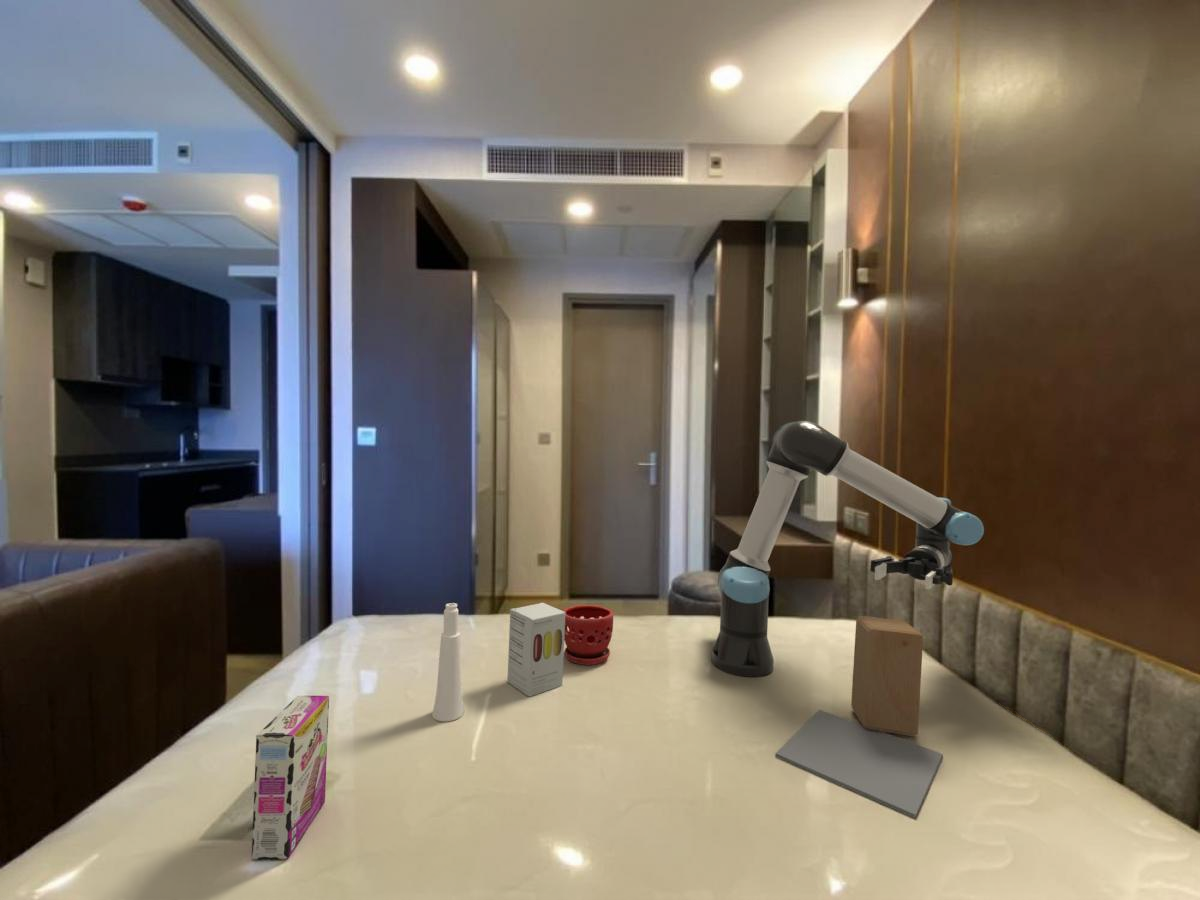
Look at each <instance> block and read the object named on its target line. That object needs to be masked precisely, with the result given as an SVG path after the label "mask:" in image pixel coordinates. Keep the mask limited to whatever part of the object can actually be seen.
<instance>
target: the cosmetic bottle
mask: <svg viewBox="0 0 1200 900" xmlns="http://www.w3.org/2000/svg"><path fill="white" fill-rule="evenodd" d="M457 607H458V603H455V602H451V603H446V604H445V609H444V610H443V632H442V633H441V635H440V643H439V645H440V646H439V657H438V669H437V683H436V692H435V693H436V694H435V699H434V705H433V710H432V717H433V719H434V720H436V721H438V722H441V723H442V722H445V723H446V722H453V721H456V720H458V719H460V718H461V717H463V715H464V713H465V710H464V703H463V701H464V700H463V693H462V675H461V674H462V672H461V671H462V670H461V669H462V668H461V663H462V662H461V659H462V658H461V633H460V631H459V609H458V608H457Z"/></svg>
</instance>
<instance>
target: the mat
mask: <svg viewBox="0 0 1200 900" xmlns="http://www.w3.org/2000/svg"><path fill="white" fill-rule="evenodd" d="M774 754H775V755H774V756H775V757H776V758H778V759H780V760H782V761H785V762H787V763H789V764H791V765H794V766H796V767H799V769H802V770H805V771H806V772H809V773H811V774H814V775H816V776H819V777H821V778H823V779H825V780H828V781H830V782H832V783H835V784H837V785H839V786H841V787H843V788H845V789H847V790H850V791H852V792H854V793H857V794H859V795H862V796H863V797H866V798H869V799H870V800H873V801H874V802H876V803H879V804H882V805H884V806H886V807H888V808H891V809H893V810H895V811H898V812H899V813H902V814H904V815H906V816H908V817H910V818H914V819H917V816H918V814H919V812H920V810H921V808H922V805H923V803H924V800H925V798H926V796H927V793H928V791H929V789H930V786H931V784H932V782H933V780H934V777H935V775H936V773H937V771H938V768H939V766H940V764H941V761H942V760H943V758H944V757H943V755H944V754H943V752H939V751H936V750H934V749H931V748H928V747H925V746H922V745H919V744H916V743H914V742H912V741H911V742H910V741H907V740H905V739H903V738H900V737H897V736H895V735H892V734H889V733H887V732H883V731H877V730H871V729H867V728H865V727H863V725H862V723H858V722H855V721H852V720H850V719H847V718H844V717H842V716H839V715H837V714H834V713H831V712H827V711H825V710H822V709H818V711H817V712H815V713H814V715H812V716H811V717H810V718H809V719H808V720H807V721H806V722H805V723H804V724H803V726H800V728H799V729H798V730H797V731H796V732H795V733H794V734H793V735H792V736H791V737H790V738H789V739H788V740H787V741H786V742H785V743H784V744H783V745H782V746H781V747H780V748H779V749H778V750H777V751H776V752H775V753H774Z"/></svg>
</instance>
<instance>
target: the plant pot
mask: <svg viewBox="0 0 1200 900" xmlns="http://www.w3.org/2000/svg"><path fill="white" fill-rule="evenodd" d="M562 611H563V612H565V634H564V645H566V647H565V648H564V656H565V657H566V658H567V659H568V660H569V661H571V662H573V663H575V664H579V665H587V666H588V665H596V664H597V665H598V664H601V663H602V662H605V661H606V660H607V659H608V658H609V657H610V654H611V649H610V648H609V645H610V643H611V640H612V636H613V630H614V613H613V611H612V610H611V609H609V608H607V607H604V606H601V605H600V606H599V605H591V604H589V605H588V604H587V605H586V604H585V605H583V604H582V605H575V606H571V607H567V608H565V609H564V610H562ZM582 617H583V618H582Z"/></svg>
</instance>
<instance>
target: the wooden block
mask: <svg viewBox="0 0 1200 900" xmlns="http://www.w3.org/2000/svg"><path fill="white" fill-rule="evenodd" d="M854 637H855V638H854V651H853V652H854V653H853V654H854V655H853V667H852V668H853V670H852V686H851V701H850V702H851V703H850V705H851V708H852V711H853V712H854V714H855V716H856V717H857V718H858V720H859V722H860V724H861V725H863V727H865V728H867V729H871V730H877V731H881V732H884V733H891V734H897V735H903V736H904V735H905V736H910V737H917V735H918V733H919V722H920V721H919V716H920V704H921V703H920V702H921V686H922V685H921V682H922V663H923V650H924V649H923V646H924V637H923V635H922V633H921V632H919V631H918V630H917V629H916V628H914V627H913V626H912V625H911V624H909V623H908V622H906V621H904V620H899V619H891V618H883V617H875V616H865V615H861V616H860V615H859V616H857V617H856V621H855V635H854Z"/></svg>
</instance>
